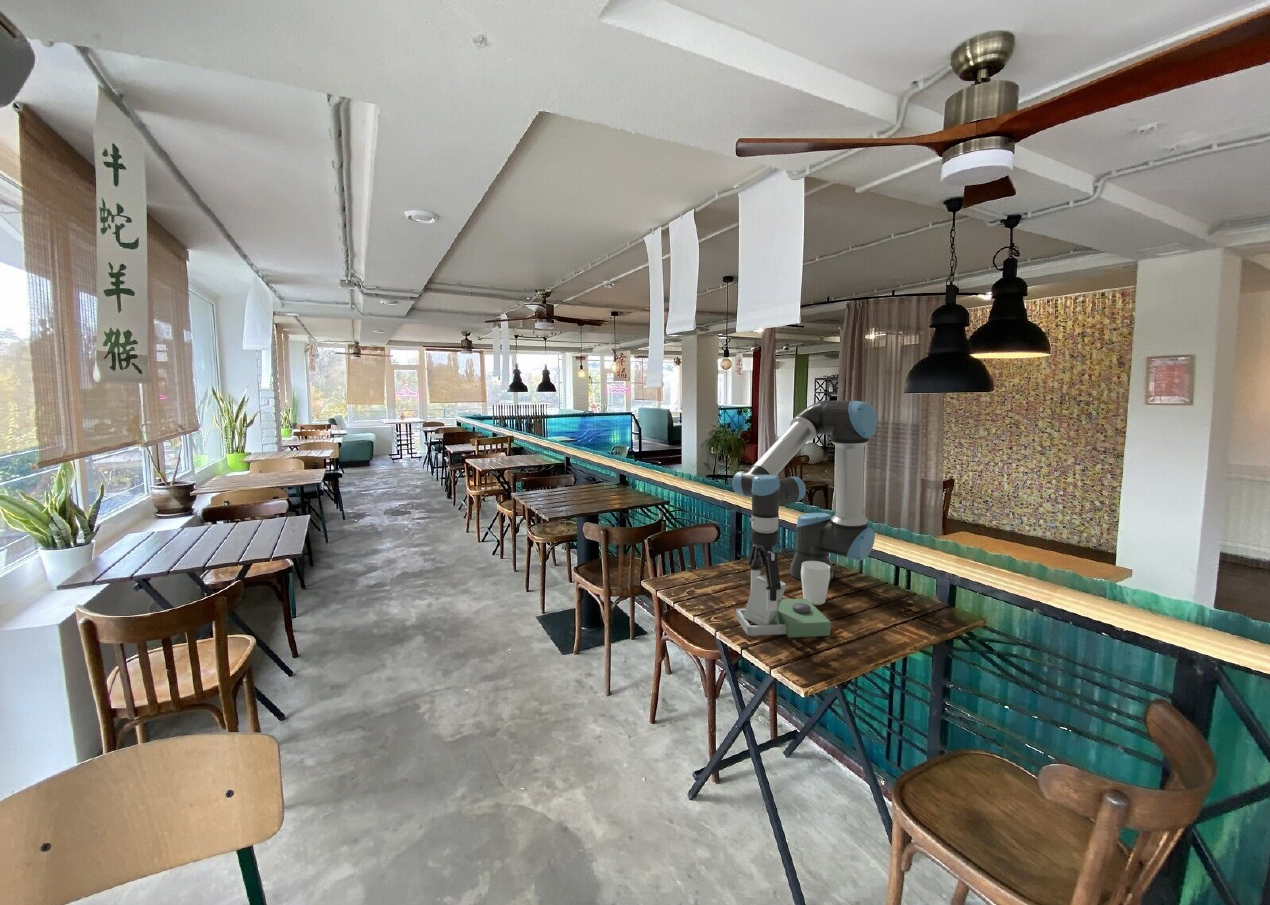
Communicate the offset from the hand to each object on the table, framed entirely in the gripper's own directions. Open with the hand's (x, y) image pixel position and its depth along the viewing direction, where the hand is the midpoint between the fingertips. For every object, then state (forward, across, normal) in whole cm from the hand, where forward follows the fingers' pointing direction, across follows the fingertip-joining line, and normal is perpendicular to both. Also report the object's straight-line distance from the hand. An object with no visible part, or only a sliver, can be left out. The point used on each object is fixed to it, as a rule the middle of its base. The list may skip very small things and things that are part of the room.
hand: (763, 600), depth 148 cm
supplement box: (+6, 0, -1) cm, 6 cm away
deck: (+8, 0, +5) cm, 9 cm away
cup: (+8, -15, +23) cm, 28 cm away
